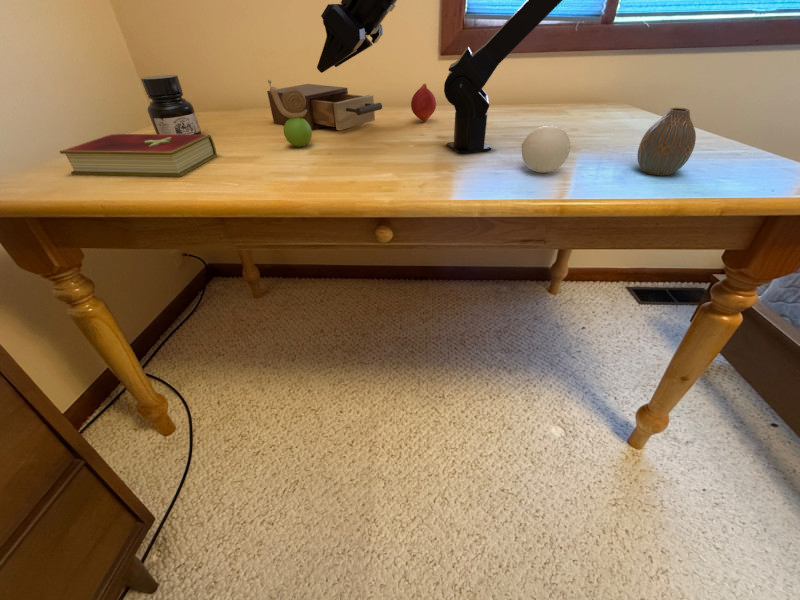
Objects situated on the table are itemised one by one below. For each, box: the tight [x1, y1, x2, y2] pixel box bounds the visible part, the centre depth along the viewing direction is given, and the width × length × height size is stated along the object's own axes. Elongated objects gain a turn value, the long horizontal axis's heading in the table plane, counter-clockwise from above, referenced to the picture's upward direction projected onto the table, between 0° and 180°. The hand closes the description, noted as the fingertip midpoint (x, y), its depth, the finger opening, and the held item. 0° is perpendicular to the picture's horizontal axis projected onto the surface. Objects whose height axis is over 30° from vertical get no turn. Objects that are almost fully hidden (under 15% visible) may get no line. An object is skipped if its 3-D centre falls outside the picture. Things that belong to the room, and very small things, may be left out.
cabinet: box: [266, 83, 349, 131], centre depth 93 cm, size 15×13×7 cm
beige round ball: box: [521, 125, 571, 174], centre depth 59 cm, size 7×7×7 cm
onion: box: [410, 83, 437, 122], centre depth 89 cm, size 6×6×8 cm
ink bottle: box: [140, 74, 202, 135], centre depth 82 cm, size 10×9×12 cm
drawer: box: [310, 93, 383, 131], centre depth 87 cm, size 18×11×5 cm, turn 51°
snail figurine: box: [267, 79, 313, 148], centre depth 73 cm, size 5×6×12 cm
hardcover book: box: [59, 133, 218, 178], centre depth 69 cm, size 12×21×4 cm, turn 82°
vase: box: [637, 107, 697, 176], centre depth 56 cm, size 7×7×9 cm
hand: (326, 67), depth 68 cm, fingers open, 8 cm apart
